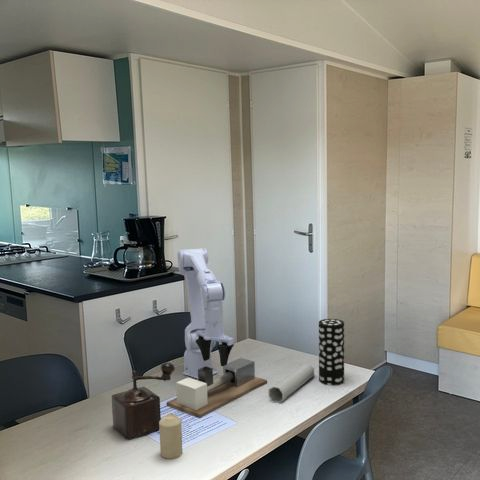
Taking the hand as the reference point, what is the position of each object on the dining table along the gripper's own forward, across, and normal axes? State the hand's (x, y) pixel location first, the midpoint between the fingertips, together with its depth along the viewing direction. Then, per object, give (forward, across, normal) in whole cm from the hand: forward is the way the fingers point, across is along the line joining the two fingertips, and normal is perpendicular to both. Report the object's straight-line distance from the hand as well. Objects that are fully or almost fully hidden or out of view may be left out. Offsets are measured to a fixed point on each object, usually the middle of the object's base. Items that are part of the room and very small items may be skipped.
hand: (215, 362), depth 174 cm
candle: (+10, +16, -34) cm, 39 cm away
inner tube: (+8, +1, -3) cm, 8 cm away
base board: (+10, +1, 0) cm, 10 cm away
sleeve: (+10, +1, +10) cm, 15 cm away
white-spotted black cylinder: (+10, +23, +31) cm, 41 cm away
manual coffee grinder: (+10, -1, -28) cm, 30 cm away
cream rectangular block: (+10, +1, -12) cm, 15 cm away
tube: (+11, +17, +19) cm, 28 cm away
